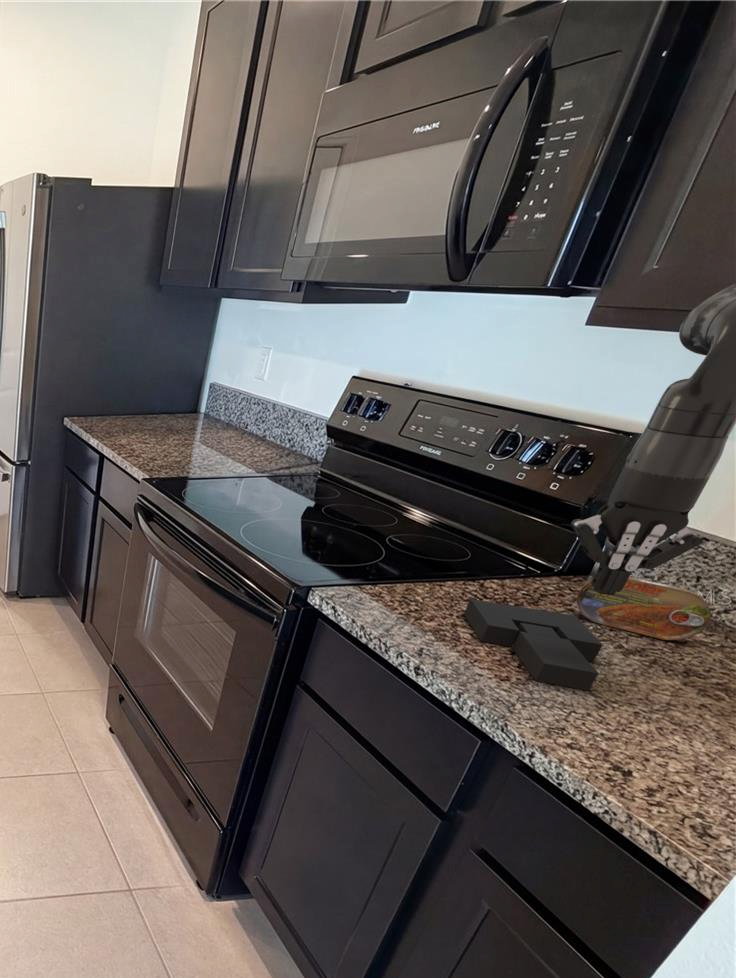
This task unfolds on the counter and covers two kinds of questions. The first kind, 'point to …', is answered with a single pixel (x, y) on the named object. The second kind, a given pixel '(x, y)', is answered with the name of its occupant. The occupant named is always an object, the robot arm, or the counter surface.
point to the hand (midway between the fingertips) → (603, 592)
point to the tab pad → (552, 658)
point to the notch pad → (504, 620)
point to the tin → (647, 609)
